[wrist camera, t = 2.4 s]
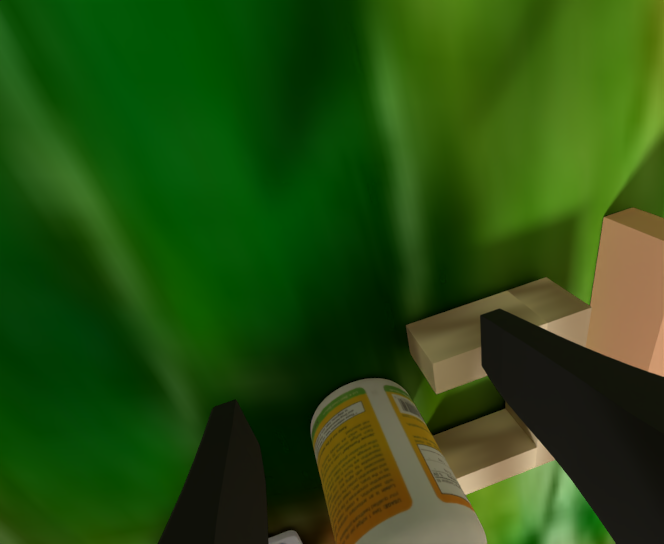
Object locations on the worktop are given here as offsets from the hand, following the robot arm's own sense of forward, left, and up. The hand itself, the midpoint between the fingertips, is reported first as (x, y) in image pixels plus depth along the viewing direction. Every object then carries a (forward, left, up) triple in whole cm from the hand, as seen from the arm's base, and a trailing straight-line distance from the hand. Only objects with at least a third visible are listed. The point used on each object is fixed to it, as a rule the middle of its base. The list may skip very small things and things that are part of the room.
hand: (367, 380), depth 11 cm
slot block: (+6, -8, -5) cm, 12 cm away
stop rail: (+14, -8, -5) cm, 17 cm away
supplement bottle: (0, -8, -6) cm, 10 cm away
